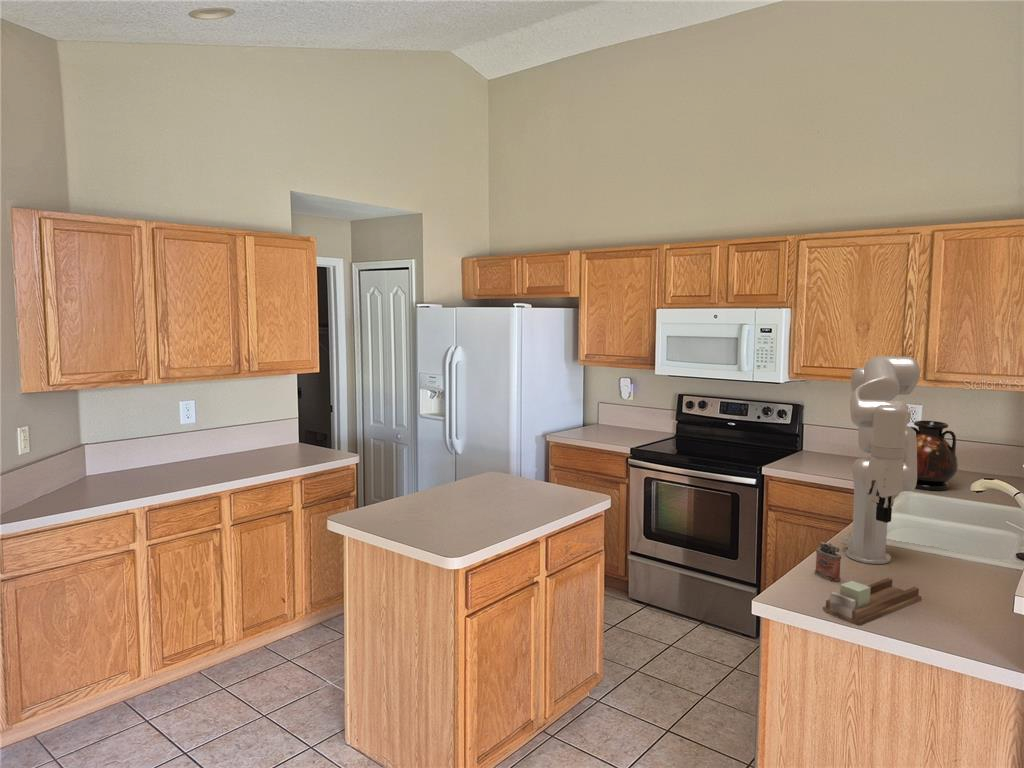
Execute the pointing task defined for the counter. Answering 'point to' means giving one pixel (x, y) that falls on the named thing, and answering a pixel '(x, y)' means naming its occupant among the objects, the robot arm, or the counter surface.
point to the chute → (872, 602)
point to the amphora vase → (934, 456)
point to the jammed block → (856, 593)
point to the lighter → (828, 562)
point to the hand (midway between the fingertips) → (883, 520)
